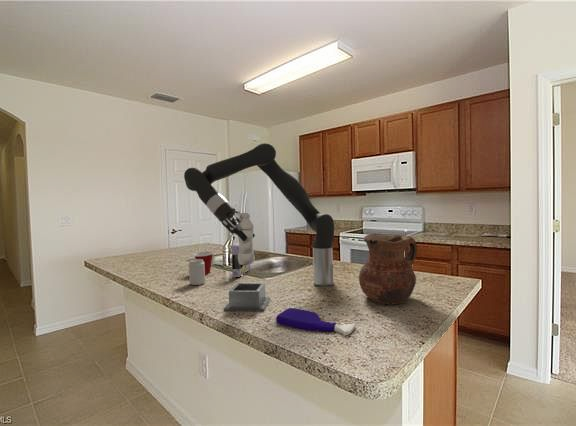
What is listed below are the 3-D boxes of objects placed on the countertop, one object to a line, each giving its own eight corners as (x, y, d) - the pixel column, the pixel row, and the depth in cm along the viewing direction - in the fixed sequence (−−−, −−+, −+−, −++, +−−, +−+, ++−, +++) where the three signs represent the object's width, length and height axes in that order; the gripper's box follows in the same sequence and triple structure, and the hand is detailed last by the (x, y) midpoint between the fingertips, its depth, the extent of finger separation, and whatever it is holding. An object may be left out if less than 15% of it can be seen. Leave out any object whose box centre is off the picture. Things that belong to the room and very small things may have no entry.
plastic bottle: (257, 263, 119) (256, 212, 118) (250, 267, 112) (248, 213, 111) (243, 262, 121) (241, 212, 120) (234, 266, 114) (233, 213, 114)
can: (208, 282, 152) (207, 258, 151) (198, 286, 145) (197, 261, 144) (196, 281, 155) (195, 258, 154) (186, 285, 148) (185, 260, 147)
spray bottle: (273, 316, 98) (346, 332, 86) (290, 306, 107) (357, 318, 95) (273, 325, 98) (346, 342, 86) (290, 314, 108) (357, 328, 95)
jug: (386, 312, 105) (385, 241, 104) (347, 296, 124) (346, 235, 123) (429, 301, 116) (428, 236, 114) (387, 287, 134) (386, 231, 133)
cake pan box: (239, 278, 158) (238, 245, 157) (230, 278, 159) (229, 245, 158) (251, 270, 176) (250, 240, 176) (243, 270, 177) (242, 240, 177)
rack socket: (270, 299, 123) (269, 282, 122) (263, 311, 110) (263, 292, 109) (234, 299, 124) (233, 282, 124) (224, 310, 112) (223, 292, 111)
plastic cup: (190, 274, 169) (189, 253, 169) (204, 270, 179) (203, 250, 178) (204, 276, 164) (203, 254, 163) (218, 272, 173) (217, 251, 172)
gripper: (217, 201, 111) (248, 233, 108) (235, 200, 124) (262, 229, 122) (205, 215, 112) (235, 248, 110) (224, 213, 126) (251, 242, 123)
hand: (249, 238), depth 116 cm, fingers closed on plastic bottle, 6 cm apart
